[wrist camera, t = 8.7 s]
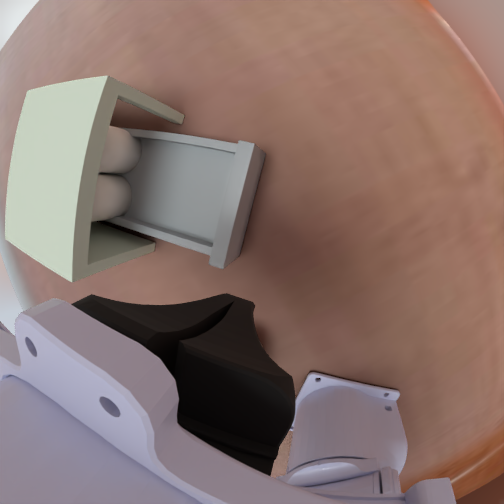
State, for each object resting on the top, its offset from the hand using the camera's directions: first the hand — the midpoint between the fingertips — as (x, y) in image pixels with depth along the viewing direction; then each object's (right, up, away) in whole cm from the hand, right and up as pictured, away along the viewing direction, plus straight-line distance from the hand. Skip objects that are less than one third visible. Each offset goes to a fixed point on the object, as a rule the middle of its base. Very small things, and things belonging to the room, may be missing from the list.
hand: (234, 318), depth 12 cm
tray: (-6, +8, +10) cm, 15 cm away
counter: (-11, +10, +11) cm, 18 cm away
